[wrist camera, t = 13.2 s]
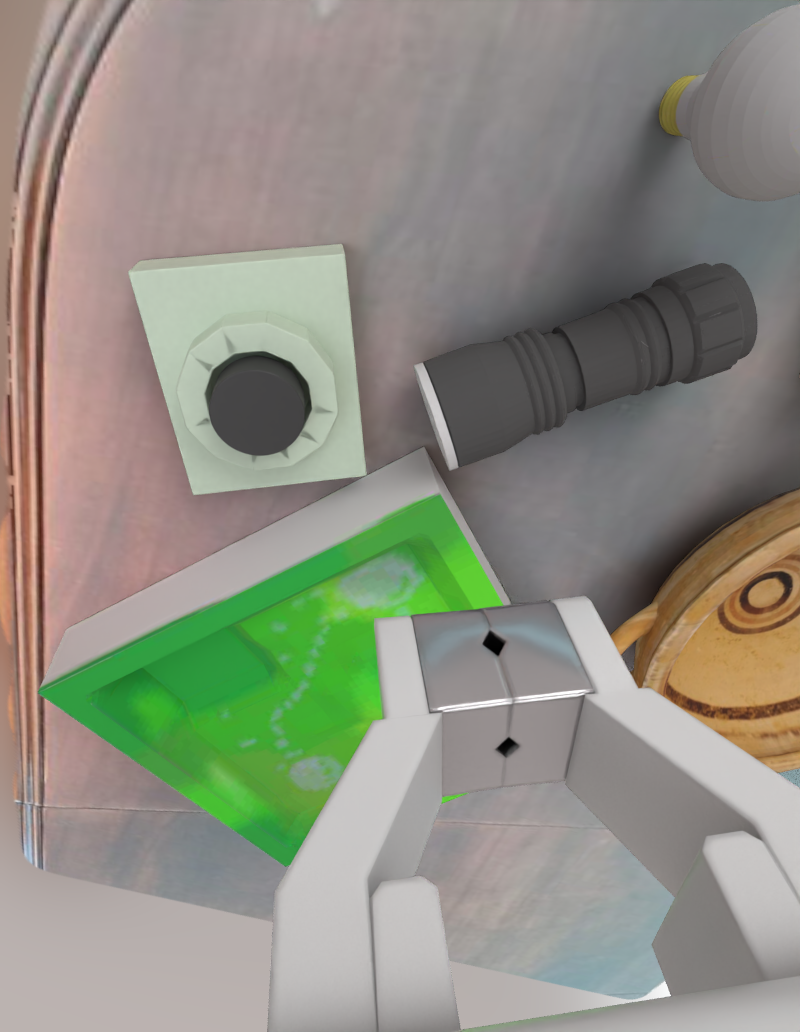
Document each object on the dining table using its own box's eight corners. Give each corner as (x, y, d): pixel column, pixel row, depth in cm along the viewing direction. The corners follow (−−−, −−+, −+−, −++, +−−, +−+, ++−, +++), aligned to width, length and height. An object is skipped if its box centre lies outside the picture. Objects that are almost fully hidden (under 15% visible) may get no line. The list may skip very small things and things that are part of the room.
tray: (559, 690, 48) (583, 746, 44) (286, 805, 52) (285, 866, 48) (424, 446, 34) (440, 493, 30) (66, 628, 38) (37, 692, 34)
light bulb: (587, 132, 26) (714, 147, 18) (676, -8, 24) (867, -63, 16) (673, 203, 28) (821, 245, 20) (762, 80, 26) (971, 72, 18)
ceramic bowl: (544, 715, 49) (581, 809, 43) (569, 452, 35) (629, 532, 29) (887, 660, 51) (972, 742, 45) (1038, 390, 37) (1194, 452, 31)
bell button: (204, 359, 26) (198, 375, 25) (297, 350, 26) (297, 365, 25) (224, 442, 28) (220, 460, 27) (310, 433, 29) (310, 451, 27)
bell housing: (139, 260, 27) (116, 282, 24) (342, 243, 28) (347, 262, 24) (198, 474, 33) (187, 515, 30) (363, 456, 34) (369, 494, 31)
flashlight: (704, 240, 30) (775, 265, 25) (706, 343, 33) (770, 381, 28) (406, 350, 31) (424, 392, 26) (436, 439, 34) (456, 491, 29)
